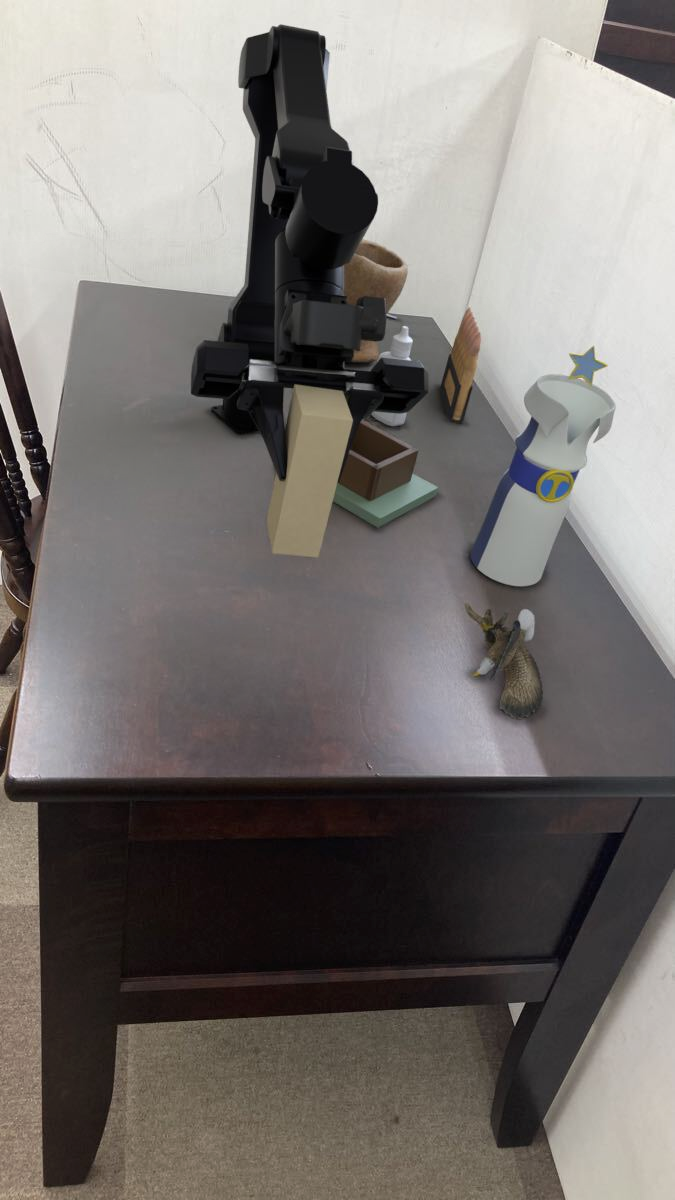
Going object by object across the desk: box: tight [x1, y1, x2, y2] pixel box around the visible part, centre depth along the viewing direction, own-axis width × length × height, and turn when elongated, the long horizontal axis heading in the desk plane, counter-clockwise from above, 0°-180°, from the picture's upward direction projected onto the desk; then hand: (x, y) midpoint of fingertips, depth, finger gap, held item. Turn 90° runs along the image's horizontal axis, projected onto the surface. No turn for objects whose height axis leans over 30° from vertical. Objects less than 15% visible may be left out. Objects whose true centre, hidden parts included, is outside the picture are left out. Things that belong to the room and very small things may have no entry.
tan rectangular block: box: [266, 384, 353, 559], centre depth 73 cm, size 5×4×13 cm
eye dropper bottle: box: [370, 325, 414, 427], centre depth 111 cm, size 4×6×12 cm
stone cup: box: [344, 238, 409, 363], centre depth 127 cm, size 15×12×15 cm
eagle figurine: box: [464, 602, 544, 720], centre depth 76 cm, size 8×7×9 cm
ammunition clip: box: [439, 306, 482, 424], centre depth 118 cm, size 11×2×12 cm, turn 1°
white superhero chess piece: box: [469, 345, 617, 587], centre depth 85 cm, size 8×8×25 cm
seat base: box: [332, 419, 439, 529], centre depth 98 cm, size 14×11×5 cm
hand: (309, 481), depth 72 cm, fingers closed on tan rectangular block, 4 cm apart
